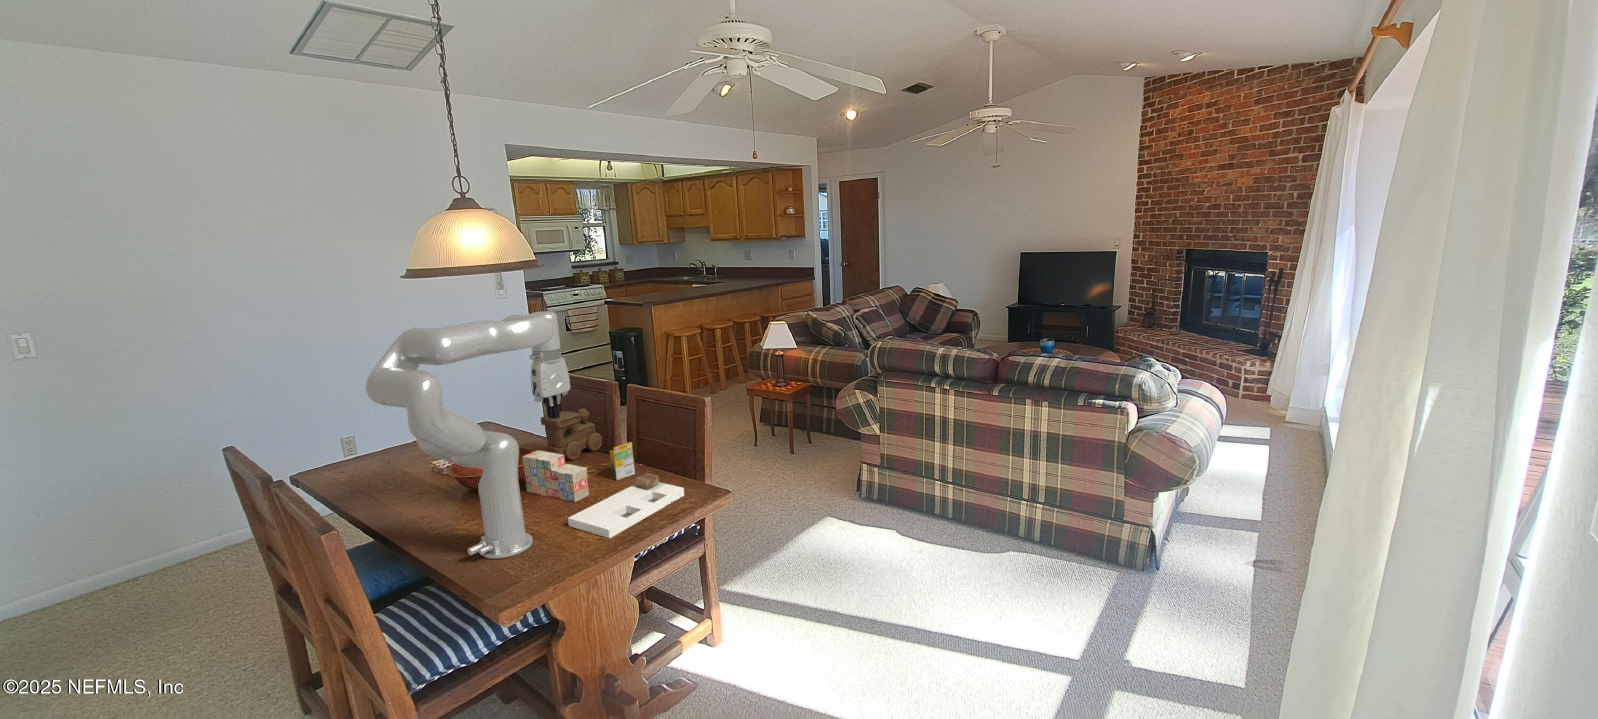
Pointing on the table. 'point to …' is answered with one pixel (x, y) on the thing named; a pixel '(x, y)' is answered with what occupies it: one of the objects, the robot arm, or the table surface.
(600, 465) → the table surface
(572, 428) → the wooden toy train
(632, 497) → the trap board
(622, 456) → the crayon box
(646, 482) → the walnut block
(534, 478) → the stack of blocks
